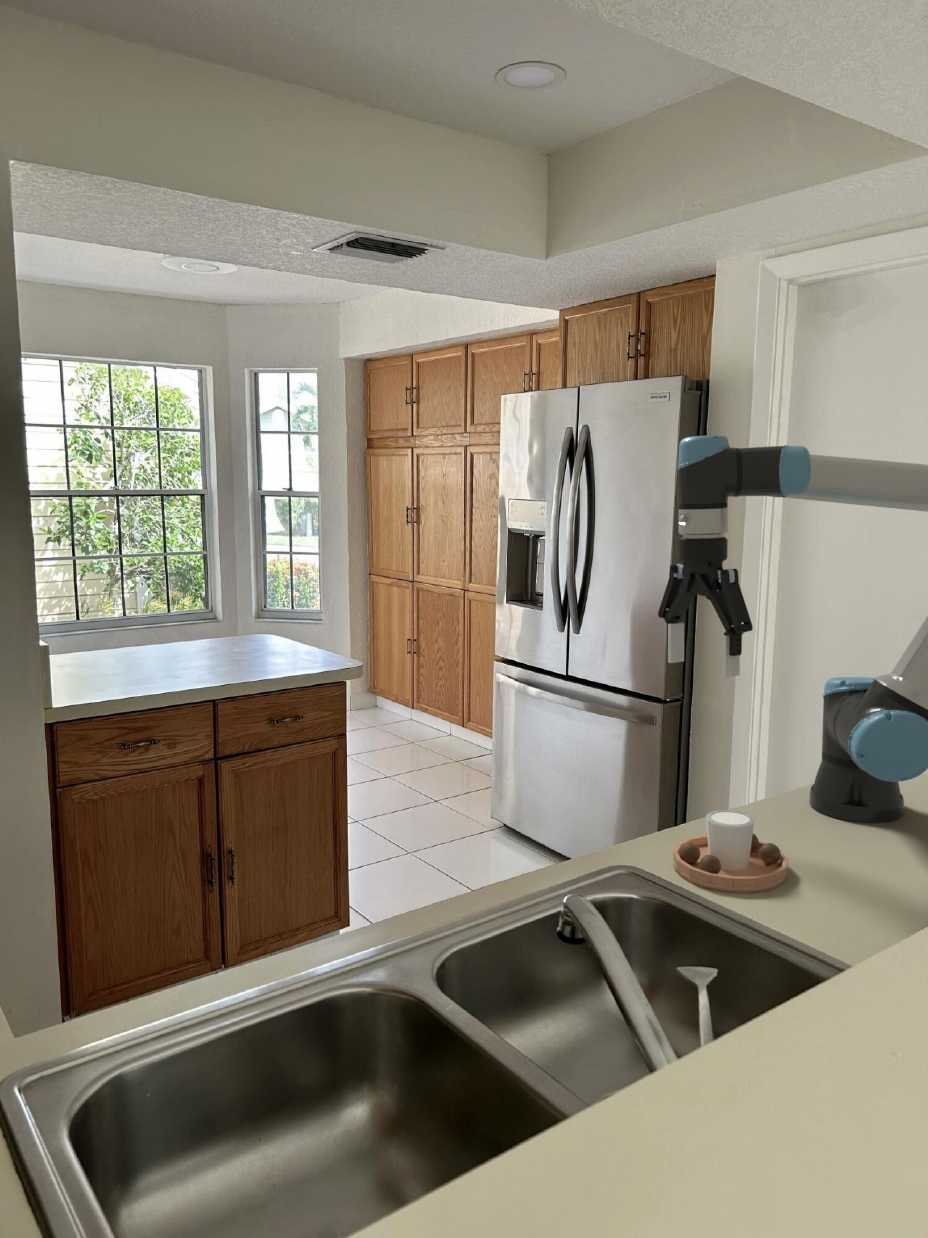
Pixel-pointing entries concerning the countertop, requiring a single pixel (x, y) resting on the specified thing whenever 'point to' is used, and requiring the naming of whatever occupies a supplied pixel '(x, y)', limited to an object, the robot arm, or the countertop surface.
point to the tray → (742, 881)
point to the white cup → (730, 838)
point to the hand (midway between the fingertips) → (702, 668)
